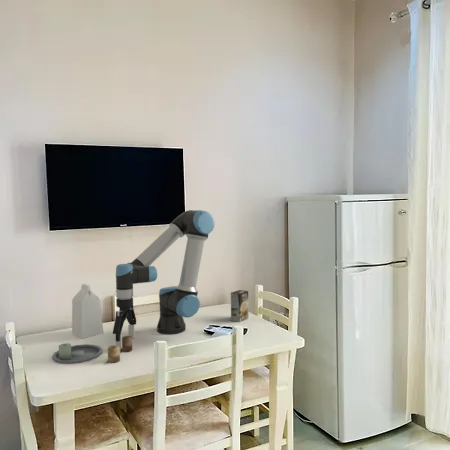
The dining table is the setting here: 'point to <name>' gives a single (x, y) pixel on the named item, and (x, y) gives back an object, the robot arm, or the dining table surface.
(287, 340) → the dining table surface
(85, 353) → the tray
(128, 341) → the bead
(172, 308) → the robot arm
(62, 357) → the bead
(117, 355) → the bead
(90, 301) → the milk
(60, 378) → the dining table surface
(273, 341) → the dining table surface
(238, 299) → the coffee box
